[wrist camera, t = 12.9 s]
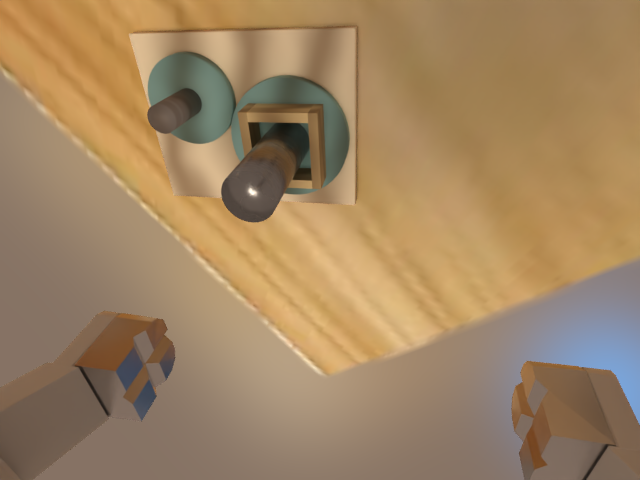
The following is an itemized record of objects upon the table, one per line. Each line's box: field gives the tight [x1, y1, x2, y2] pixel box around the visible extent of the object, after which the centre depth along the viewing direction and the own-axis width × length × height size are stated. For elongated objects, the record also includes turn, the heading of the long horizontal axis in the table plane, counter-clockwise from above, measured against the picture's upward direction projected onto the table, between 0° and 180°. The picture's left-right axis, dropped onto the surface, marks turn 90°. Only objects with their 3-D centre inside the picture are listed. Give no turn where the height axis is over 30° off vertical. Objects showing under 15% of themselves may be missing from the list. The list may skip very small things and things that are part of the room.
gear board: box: [129, 26, 357, 205], centre depth 36 cm, size 20×16×7 cm
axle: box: [221, 123, 310, 222], centre depth 33 cm, size 4×4×11 cm
